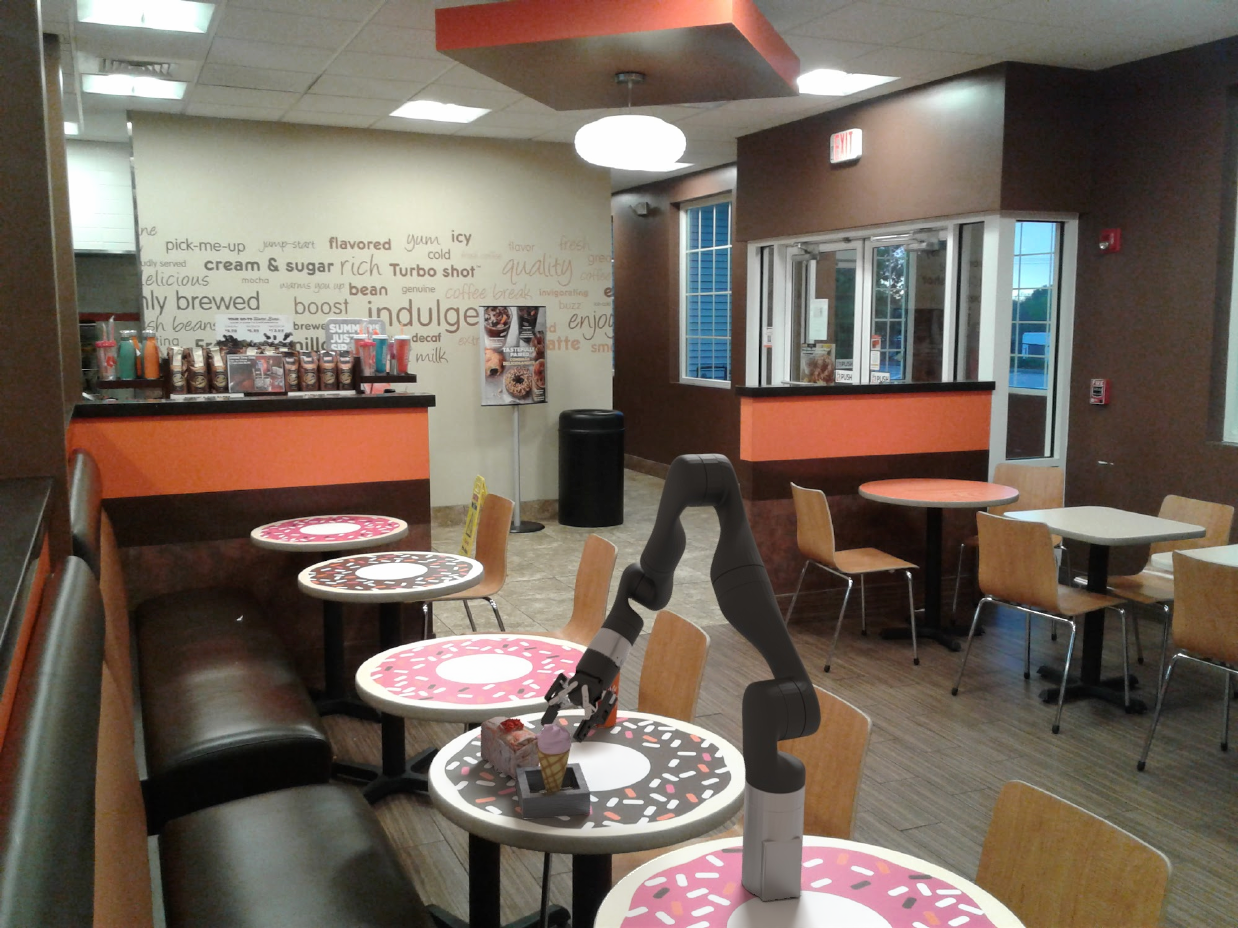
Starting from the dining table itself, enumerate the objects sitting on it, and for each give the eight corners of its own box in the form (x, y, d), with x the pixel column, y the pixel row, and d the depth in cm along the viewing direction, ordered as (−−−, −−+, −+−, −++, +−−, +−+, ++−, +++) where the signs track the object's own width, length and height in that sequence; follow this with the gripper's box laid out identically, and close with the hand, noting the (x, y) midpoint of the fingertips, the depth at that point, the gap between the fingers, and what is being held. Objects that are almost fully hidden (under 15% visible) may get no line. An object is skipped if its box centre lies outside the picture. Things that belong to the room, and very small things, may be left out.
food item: (547, 774, 193) (547, 725, 191) (513, 786, 188) (512, 736, 186) (507, 750, 203) (506, 704, 201) (473, 761, 198) (473, 714, 196)
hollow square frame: (590, 813, 178) (590, 792, 177) (522, 819, 175) (522, 798, 175) (578, 782, 189) (579, 762, 189) (515, 787, 187) (515, 767, 186)
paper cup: (617, 731, 213) (617, 668, 211) (582, 727, 214) (582, 665, 212) (624, 716, 220) (625, 656, 218) (590, 713, 222) (590, 653, 220)
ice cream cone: (527, 802, 181) (528, 723, 179) (543, 788, 187) (544, 712, 185) (560, 810, 178) (561, 730, 176) (575, 795, 184) (576, 718, 182)
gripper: (567, 639, 191) (523, 712, 184) (622, 656, 181) (577, 735, 175) (587, 659, 196) (544, 731, 189) (641, 677, 186) (598, 754, 179)
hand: (560, 733), depth 182 cm, fingers open, 8 cm apart
